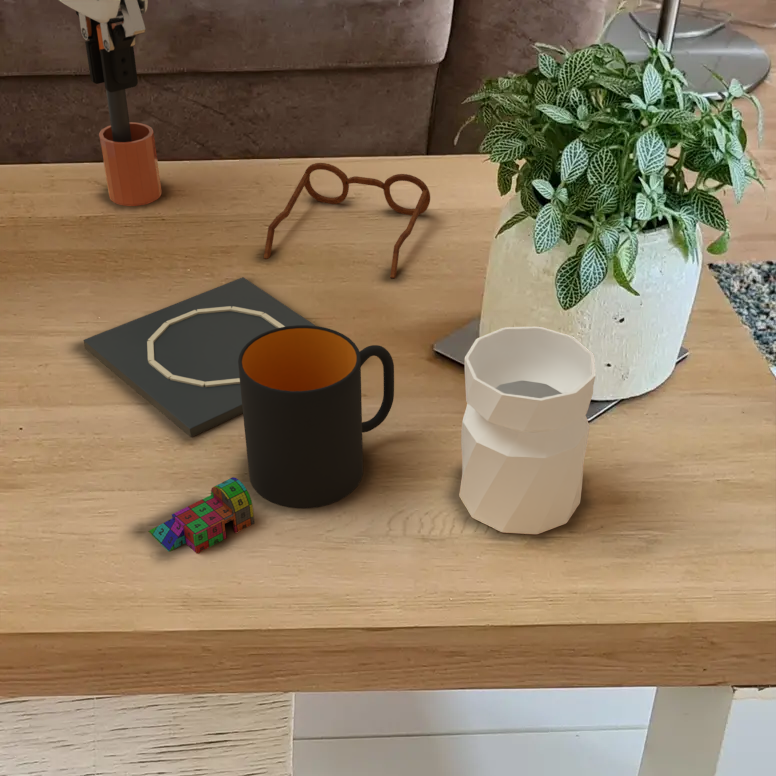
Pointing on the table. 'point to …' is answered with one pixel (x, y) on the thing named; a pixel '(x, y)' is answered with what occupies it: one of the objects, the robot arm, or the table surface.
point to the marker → (117, 107)
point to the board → (193, 352)
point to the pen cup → (131, 166)
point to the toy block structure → (208, 518)
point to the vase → (525, 428)
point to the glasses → (305, 181)
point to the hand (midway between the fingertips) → (114, 82)
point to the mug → (307, 413)
